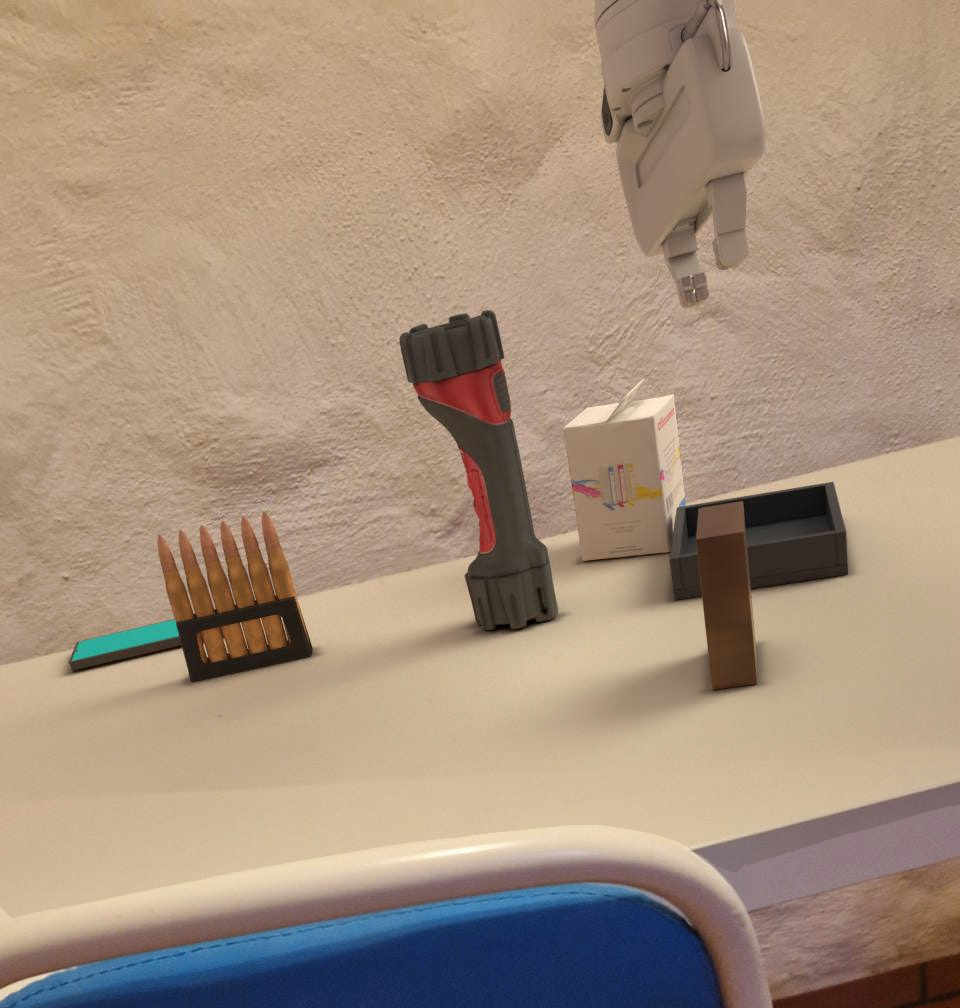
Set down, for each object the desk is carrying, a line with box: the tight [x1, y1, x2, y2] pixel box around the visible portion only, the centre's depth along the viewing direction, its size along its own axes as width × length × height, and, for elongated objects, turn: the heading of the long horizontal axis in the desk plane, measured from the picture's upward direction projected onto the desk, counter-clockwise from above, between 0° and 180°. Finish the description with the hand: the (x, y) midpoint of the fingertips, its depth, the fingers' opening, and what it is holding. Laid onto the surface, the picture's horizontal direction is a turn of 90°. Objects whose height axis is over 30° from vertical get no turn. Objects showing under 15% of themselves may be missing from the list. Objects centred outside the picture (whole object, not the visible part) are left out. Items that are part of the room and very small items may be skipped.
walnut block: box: [696, 501, 758, 691], centre depth 94 cm, size 3×8×10 cm, turn 171°
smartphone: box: [68, 618, 223, 671], centre depth 132 cm, size 7×1×15 cm
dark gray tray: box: [669, 481, 849, 601], centre depth 117 cm, size 14×17×3 cm
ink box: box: [562, 378, 687, 562], centre depth 126 cm, size 9×8×13 cm
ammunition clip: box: [156, 510, 314, 683], centre depth 117 cm, size 11×2×12 cm, turn 94°
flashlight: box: [398, 309, 559, 631], centre depth 111 cm, size 8×8×23 cm
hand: (713, 286), depth 95 cm, fingers open, 8 cm apart
